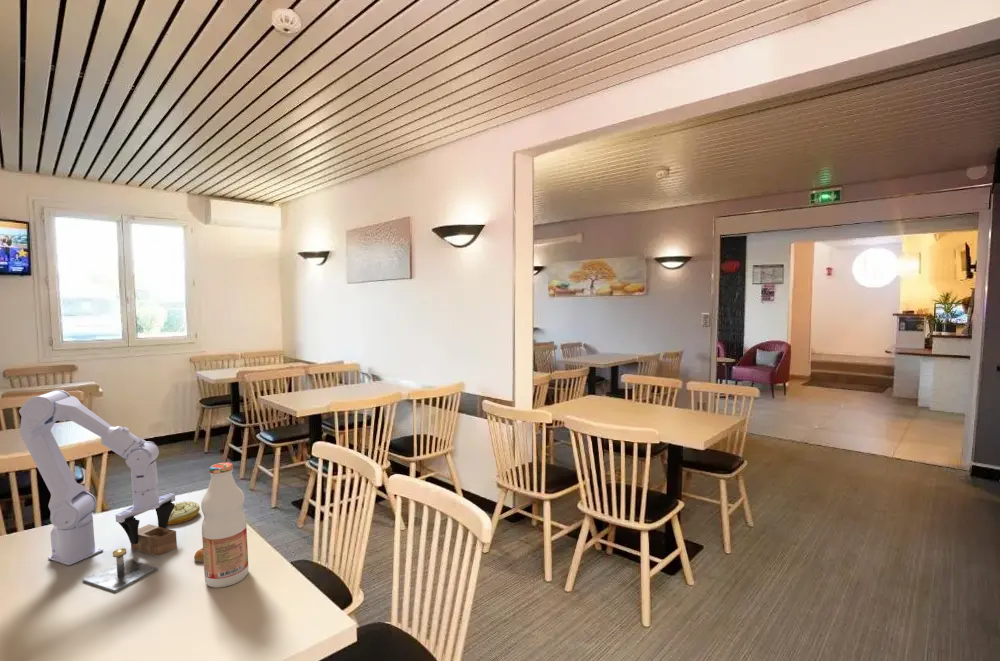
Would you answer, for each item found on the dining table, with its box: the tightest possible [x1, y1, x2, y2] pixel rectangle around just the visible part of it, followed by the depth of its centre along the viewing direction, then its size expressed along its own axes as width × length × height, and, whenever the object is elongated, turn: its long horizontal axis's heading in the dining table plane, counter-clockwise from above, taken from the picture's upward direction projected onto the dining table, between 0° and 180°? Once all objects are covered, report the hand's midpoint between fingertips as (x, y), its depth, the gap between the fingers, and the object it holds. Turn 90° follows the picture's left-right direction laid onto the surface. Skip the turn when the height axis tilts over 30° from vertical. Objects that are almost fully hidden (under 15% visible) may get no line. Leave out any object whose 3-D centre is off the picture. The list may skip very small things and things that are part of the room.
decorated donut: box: [167, 501, 201, 526], centre depth 154 cm, size 10×11×4 cm
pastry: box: [193, 547, 204, 563], centre depth 132 cm, size 9×7×4 cm
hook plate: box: [82, 547, 159, 593], centre depth 122 cm, size 12×10×6 cm
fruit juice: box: [200, 461, 249, 589], centre depth 121 cm, size 9×9×28 cm
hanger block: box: [130, 523, 178, 557], centre depth 136 cm, size 11×5×5 cm, turn 68°
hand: (148, 536), depth 136 cm, fingers open, 7 cm apart
